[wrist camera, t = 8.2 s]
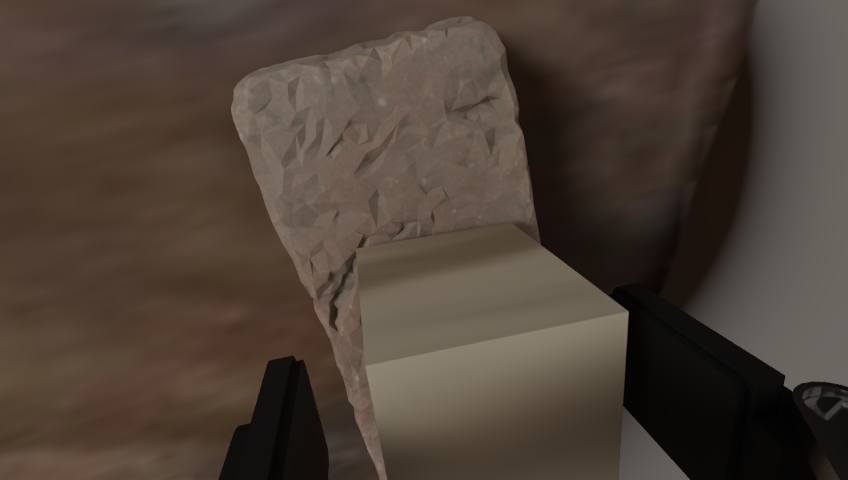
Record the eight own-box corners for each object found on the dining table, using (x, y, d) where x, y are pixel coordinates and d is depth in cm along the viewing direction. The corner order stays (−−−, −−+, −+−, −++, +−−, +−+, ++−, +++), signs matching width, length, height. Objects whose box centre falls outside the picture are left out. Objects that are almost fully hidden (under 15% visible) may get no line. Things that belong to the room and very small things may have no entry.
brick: (241, 81, 15) (200, 76, 11) (463, 18, 16) (510, -10, 11) (380, 424, 21) (390, 511, 17) (536, 368, 22) (585, 438, 17)
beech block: (355, 248, 13) (365, 366, 7) (511, 222, 14) (628, 311, 8) (379, 382, 15) (402, 559, 9) (516, 352, 15) (616, 501, 10)
